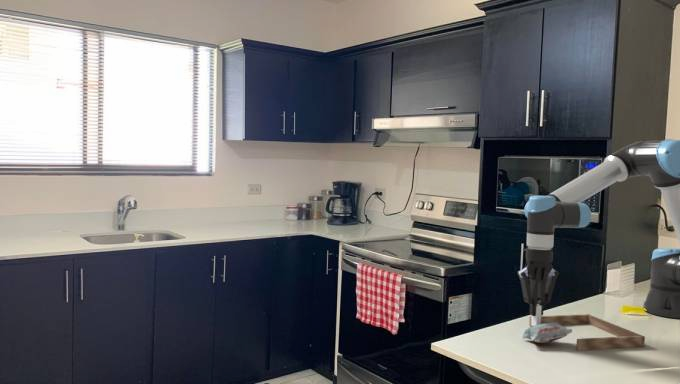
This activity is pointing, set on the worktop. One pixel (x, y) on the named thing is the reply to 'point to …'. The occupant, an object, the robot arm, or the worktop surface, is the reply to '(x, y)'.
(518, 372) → the worktop surface
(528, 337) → the packaged food
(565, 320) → the wooden frame
